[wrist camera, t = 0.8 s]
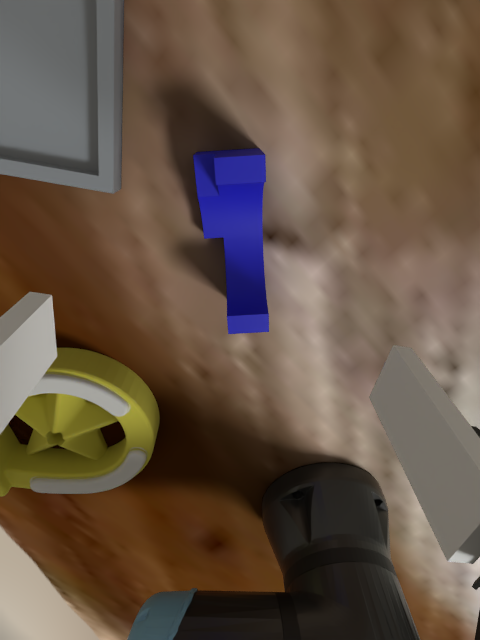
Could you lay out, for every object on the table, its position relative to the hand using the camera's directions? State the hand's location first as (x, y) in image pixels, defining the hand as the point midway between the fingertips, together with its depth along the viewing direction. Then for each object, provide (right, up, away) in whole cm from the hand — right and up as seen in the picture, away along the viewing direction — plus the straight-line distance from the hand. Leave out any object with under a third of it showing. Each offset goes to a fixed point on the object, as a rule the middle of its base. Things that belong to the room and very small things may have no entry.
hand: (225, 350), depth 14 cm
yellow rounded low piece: (-18, -9, +24) cm, 32 cm away
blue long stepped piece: (0, +8, +15) cm, 17 cm away
